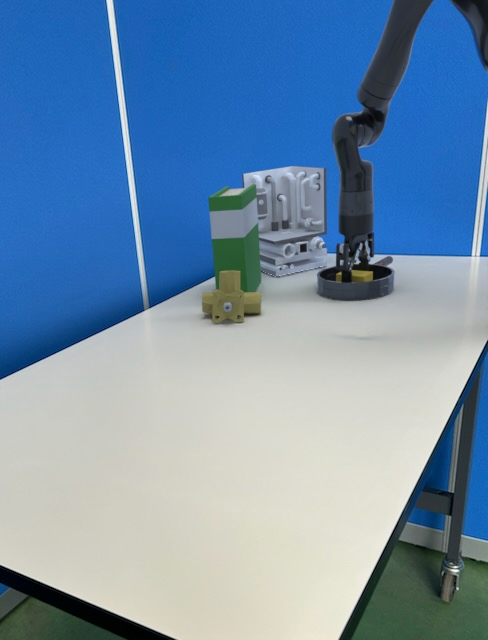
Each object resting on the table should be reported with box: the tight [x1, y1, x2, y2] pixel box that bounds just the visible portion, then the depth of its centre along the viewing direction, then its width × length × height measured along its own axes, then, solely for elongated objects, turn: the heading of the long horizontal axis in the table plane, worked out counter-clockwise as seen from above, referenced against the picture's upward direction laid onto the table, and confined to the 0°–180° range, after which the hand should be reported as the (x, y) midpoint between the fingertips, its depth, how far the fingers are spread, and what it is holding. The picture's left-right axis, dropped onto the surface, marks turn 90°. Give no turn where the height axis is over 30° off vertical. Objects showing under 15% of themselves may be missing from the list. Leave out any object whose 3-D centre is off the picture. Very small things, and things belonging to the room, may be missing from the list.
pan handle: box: [373, 255, 394, 267], centre depth 153 cm, size 2×11×2 cm, turn 140°
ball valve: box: [201, 270, 262, 324], centre depth 134 cm, size 13×10×10 cm
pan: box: [316, 263, 396, 302], centre depth 144 cm, size 17×17×4 cm
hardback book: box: [207, 184, 262, 293], centre depth 148 cm, size 18×7×24 cm, turn 164°
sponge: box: [336, 270, 373, 282], centre depth 144 cm, size 7×4×4 cm, turn 50°
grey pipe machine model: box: [241, 165, 328, 278], centre depth 164 cm, size 16×19×25 cm
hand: (355, 282), depth 144 cm, fingers open, 8 cm apart
